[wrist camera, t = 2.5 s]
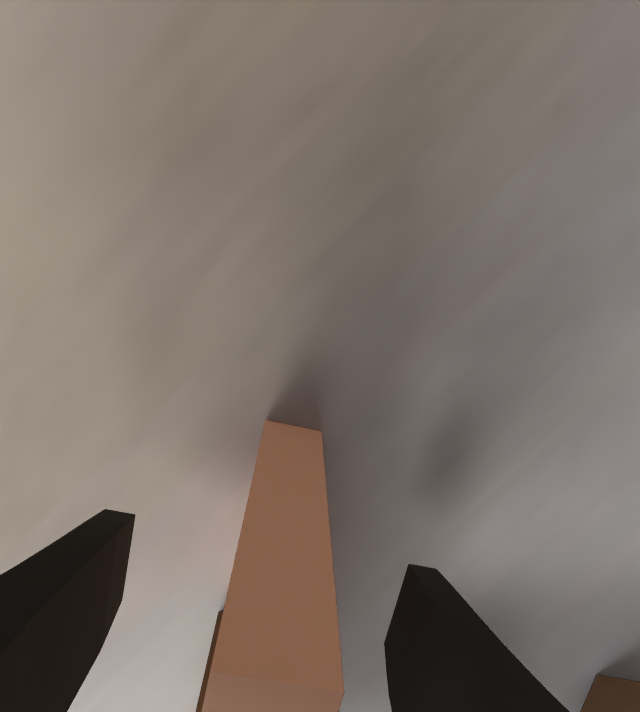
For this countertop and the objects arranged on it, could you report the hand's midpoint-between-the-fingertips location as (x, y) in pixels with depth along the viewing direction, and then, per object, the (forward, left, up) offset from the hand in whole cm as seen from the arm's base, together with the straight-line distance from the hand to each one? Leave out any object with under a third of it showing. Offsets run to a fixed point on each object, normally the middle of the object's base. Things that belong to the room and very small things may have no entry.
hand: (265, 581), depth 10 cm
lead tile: (0, 0, -2) cm, 2 cm away
